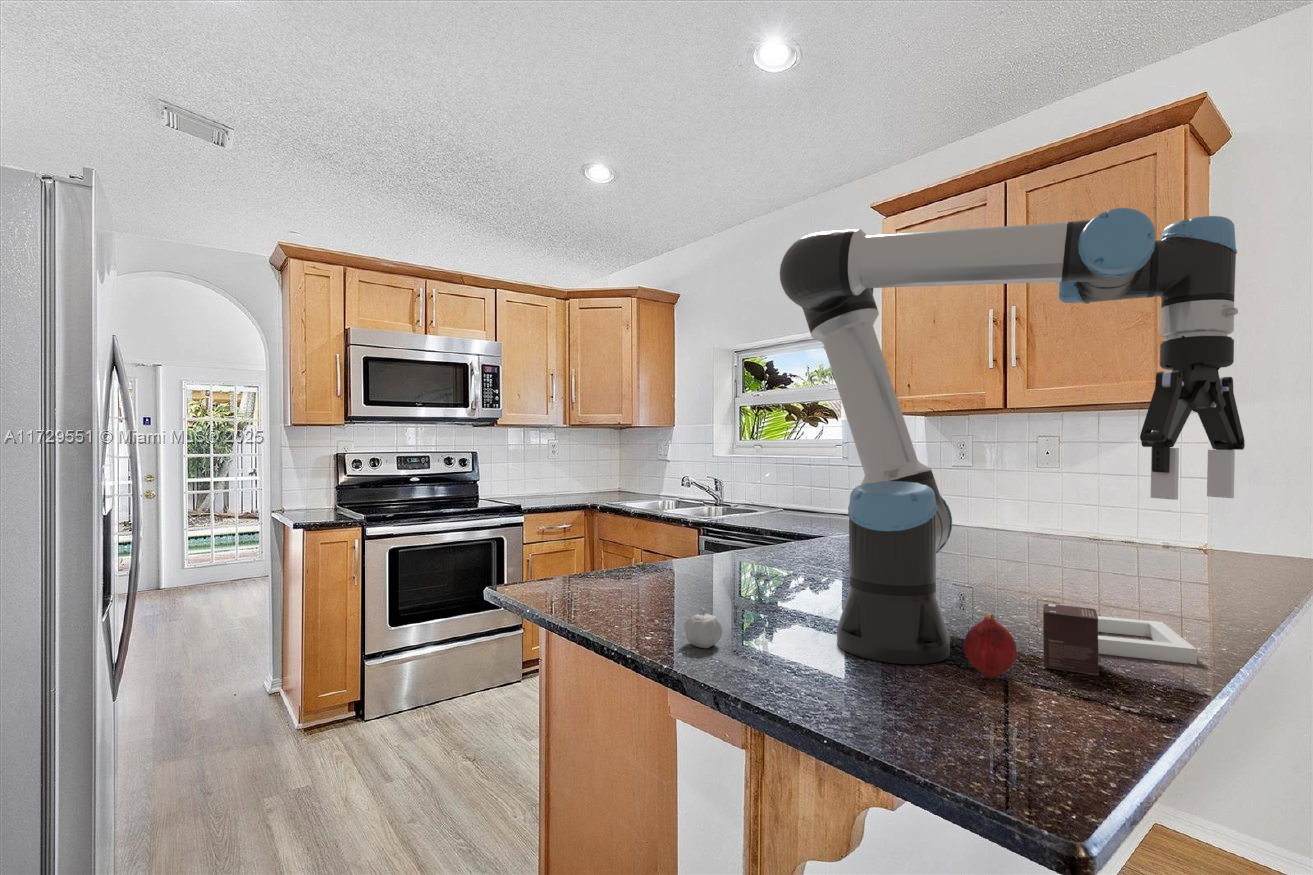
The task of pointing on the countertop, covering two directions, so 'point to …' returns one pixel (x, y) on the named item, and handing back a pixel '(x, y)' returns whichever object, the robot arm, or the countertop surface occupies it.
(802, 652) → the countertop surface
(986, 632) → the onion
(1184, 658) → the hole plate
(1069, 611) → the box
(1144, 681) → the countertop surface
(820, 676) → the countertop surface
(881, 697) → the countertop surface
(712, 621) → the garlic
